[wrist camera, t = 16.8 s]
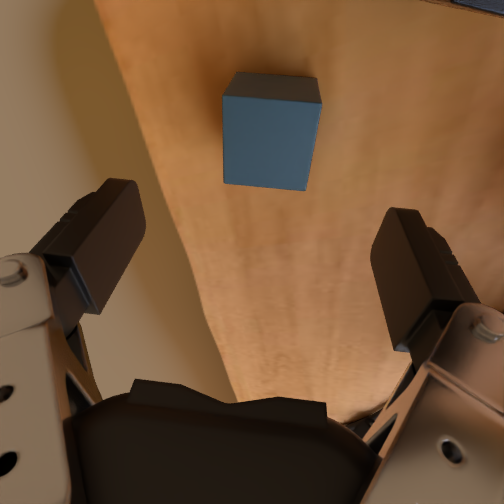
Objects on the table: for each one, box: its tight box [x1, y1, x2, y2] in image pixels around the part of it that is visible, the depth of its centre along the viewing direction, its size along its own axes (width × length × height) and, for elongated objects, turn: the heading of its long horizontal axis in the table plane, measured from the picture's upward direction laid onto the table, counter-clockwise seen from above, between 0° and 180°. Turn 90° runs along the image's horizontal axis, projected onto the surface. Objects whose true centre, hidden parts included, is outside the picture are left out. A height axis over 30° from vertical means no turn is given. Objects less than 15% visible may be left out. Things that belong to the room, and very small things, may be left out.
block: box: [222, 72, 322, 191], centre depth 16 cm, size 4×4×4 cm
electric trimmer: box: [351, 418, 375, 439], centre depth 48 cm, size 4×16×3 cm, turn 0°
